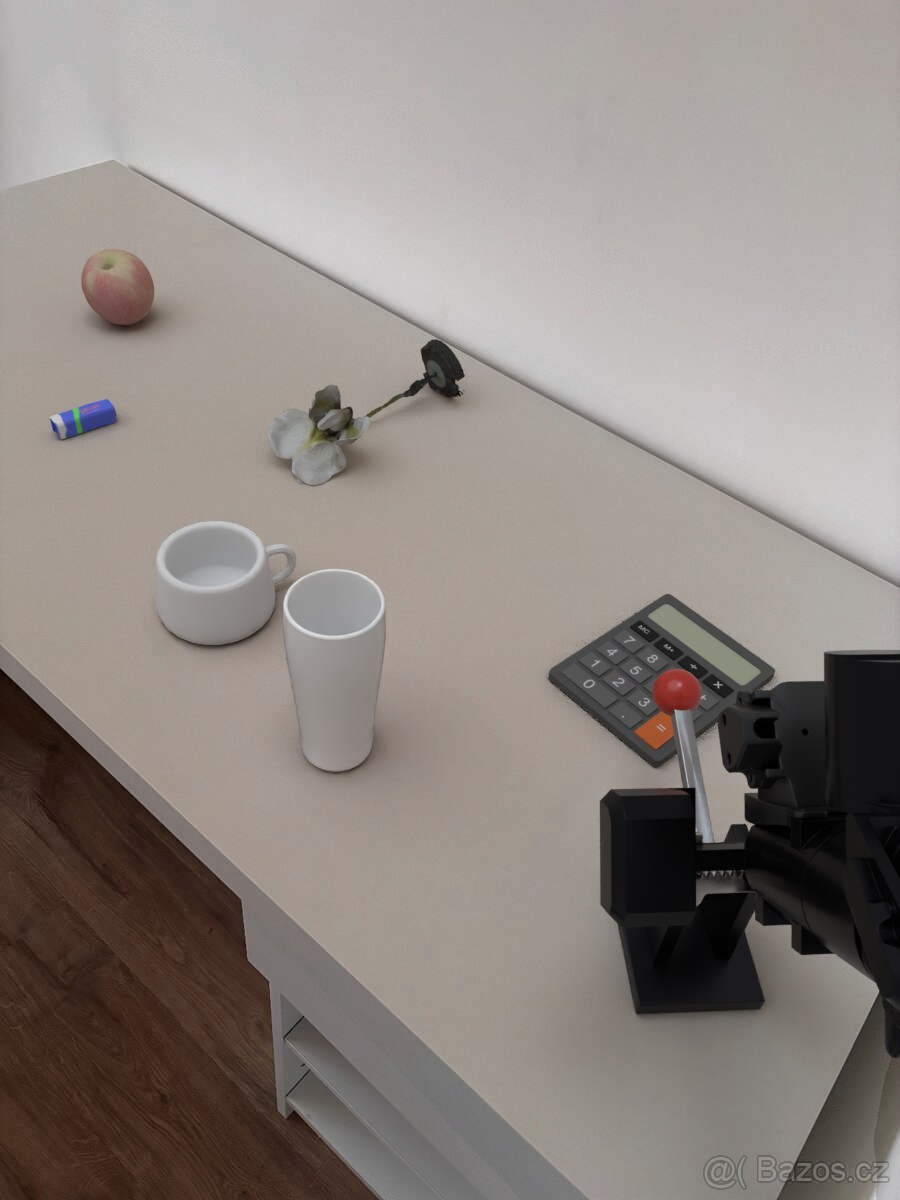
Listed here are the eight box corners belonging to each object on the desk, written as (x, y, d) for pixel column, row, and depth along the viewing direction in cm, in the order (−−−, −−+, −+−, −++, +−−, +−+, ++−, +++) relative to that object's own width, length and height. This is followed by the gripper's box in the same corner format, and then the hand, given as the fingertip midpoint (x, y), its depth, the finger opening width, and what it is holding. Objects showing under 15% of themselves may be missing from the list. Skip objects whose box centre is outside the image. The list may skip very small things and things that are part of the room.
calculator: (547, 669, 84) (668, 590, 92) (546, 677, 85) (666, 598, 93) (658, 761, 78) (778, 668, 86) (656, 768, 79) (774, 676, 87)
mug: (179, 664, 84) (170, 610, 80) (143, 588, 90) (133, 533, 86) (319, 620, 88) (318, 566, 84) (276, 550, 94) (273, 497, 90)
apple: (77, 313, 121) (64, 247, 116) (140, 297, 125) (130, 232, 119) (106, 345, 117) (93, 277, 111) (170, 327, 120) (161, 261, 115)
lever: (644, 682, 72) (655, 660, 69) (689, 681, 72) (703, 659, 70) (679, 903, 64) (694, 888, 62) (730, 901, 65) (747, 886, 62)
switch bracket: (607, 872, 73) (633, 787, 66) (720, 869, 73) (757, 785, 67) (635, 1014, 65) (668, 935, 59) (760, 1009, 66) (807, 930, 59)
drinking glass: (395, 726, 81) (402, 582, 70) (361, 795, 76) (363, 651, 66) (313, 701, 82) (308, 556, 72) (275, 766, 77) (263, 621, 67)
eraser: (52, 431, 105) (48, 414, 103) (110, 414, 108) (107, 397, 106) (59, 441, 104) (55, 424, 102) (118, 424, 106) (115, 407, 105)
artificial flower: (477, 420, 113) (494, 357, 105) (303, 517, 104) (306, 455, 95) (425, 366, 116) (438, 299, 107) (252, 455, 107) (251, 389, 98)
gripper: (1074, 696, 45) (887, 672, 61) (647, 703, 43) (567, 676, 59) (1076, 957, 45) (888, 867, 61) (648, 975, 43) (568, 877, 59)
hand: (730, 817), depth 60 cm, fingers open, 7 cm apart
